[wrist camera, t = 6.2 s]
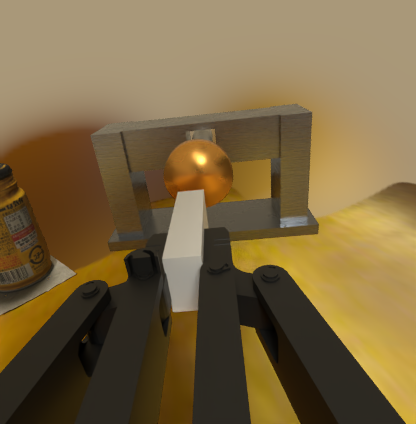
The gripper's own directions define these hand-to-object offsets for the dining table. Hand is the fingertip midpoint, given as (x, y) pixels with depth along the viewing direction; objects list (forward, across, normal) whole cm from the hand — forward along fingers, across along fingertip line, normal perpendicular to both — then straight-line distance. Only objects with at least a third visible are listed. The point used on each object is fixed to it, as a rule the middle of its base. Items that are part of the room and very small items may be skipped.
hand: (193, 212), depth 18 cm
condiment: (+10, +20, +11) cm, 25 cm away
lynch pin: (+13, 0, +2) cm, 13 cm away
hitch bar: (+18, 0, +11) cm, 21 cm away
